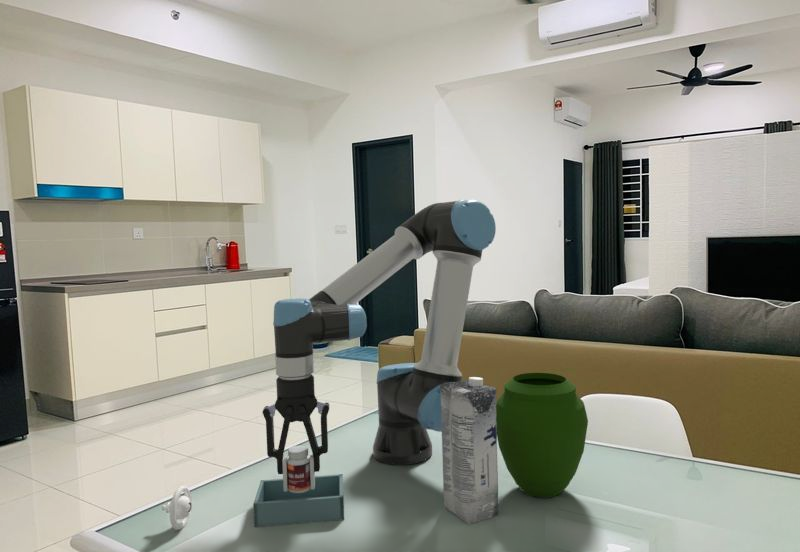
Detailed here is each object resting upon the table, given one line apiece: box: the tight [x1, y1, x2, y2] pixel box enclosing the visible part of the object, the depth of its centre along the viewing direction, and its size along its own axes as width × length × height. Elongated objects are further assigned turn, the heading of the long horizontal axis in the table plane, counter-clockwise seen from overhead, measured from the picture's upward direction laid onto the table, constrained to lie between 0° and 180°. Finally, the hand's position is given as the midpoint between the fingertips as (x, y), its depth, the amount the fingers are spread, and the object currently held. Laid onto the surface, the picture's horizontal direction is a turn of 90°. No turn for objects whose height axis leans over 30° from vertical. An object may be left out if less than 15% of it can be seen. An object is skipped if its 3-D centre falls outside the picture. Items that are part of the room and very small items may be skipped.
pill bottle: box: [287, 445, 311, 493], centre depth 120 cm, size 5×5×8 cm
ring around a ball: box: [161, 485, 193, 531], centre depth 115 cm, size 8×6×8 cm
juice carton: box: [440, 376, 499, 525], centre depth 117 cm, size 9×10×27 cm
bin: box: [252, 473, 345, 528], centre depth 121 cm, size 17×11×5 cm, turn 96°
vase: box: [496, 372, 589, 499], centre depth 125 cm, size 20×20×24 cm
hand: (299, 487), depth 121 cm, fingers closed on pill bottle, 5 cm apart
